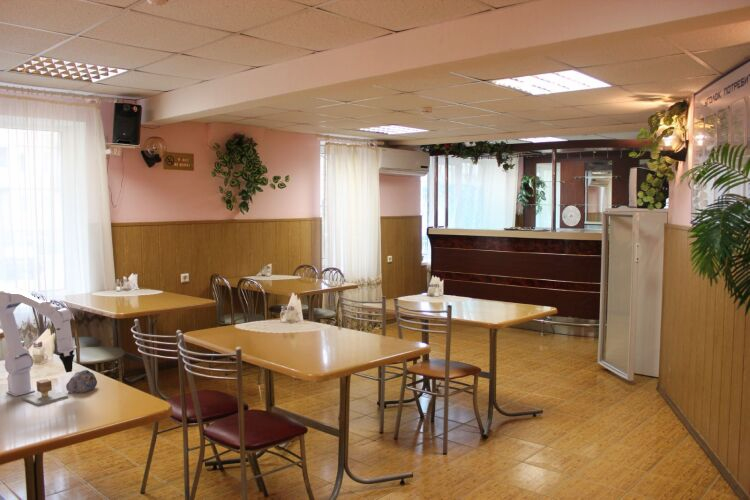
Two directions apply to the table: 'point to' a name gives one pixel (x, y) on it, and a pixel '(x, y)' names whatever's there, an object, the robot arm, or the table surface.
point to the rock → (81, 382)
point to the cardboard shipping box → (44, 386)
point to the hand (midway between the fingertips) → (68, 370)
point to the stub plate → (44, 397)
